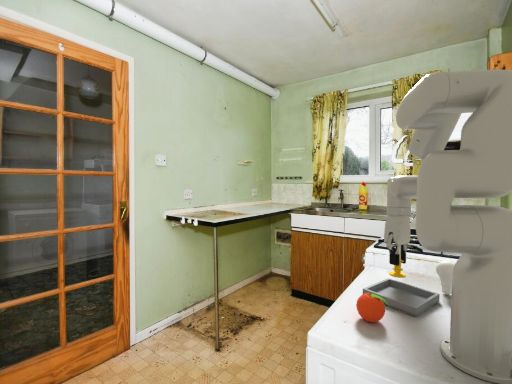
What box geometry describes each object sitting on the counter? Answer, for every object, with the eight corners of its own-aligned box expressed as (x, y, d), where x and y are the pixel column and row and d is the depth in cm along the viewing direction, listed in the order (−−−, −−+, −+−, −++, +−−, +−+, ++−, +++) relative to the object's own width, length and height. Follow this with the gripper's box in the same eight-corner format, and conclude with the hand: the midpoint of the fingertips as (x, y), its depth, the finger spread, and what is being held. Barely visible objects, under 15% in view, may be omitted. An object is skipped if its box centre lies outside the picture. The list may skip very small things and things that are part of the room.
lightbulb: (450, 291, 87) (451, 258, 87) (463, 299, 81) (464, 264, 81) (431, 290, 88) (432, 257, 87) (442, 298, 82) (443, 263, 81)
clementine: (390, 319, 69) (391, 293, 69) (387, 332, 63) (388, 303, 63) (358, 311, 73) (359, 286, 73) (353, 322, 67) (353, 295, 67)
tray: (439, 302, 79) (439, 294, 79) (415, 317, 70) (416, 308, 70) (388, 285, 92) (388, 278, 92) (362, 296, 83) (362, 288, 82)
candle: (405, 274, 94) (405, 231, 94) (406, 278, 89) (407, 233, 89) (388, 272, 96) (389, 229, 96) (389, 276, 91) (390, 232, 91)
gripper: (399, 210, 100) (398, 257, 100) (375, 212, 90) (374, 265, 91) (420, 211, 94) (419, 262, 94) (397, 214, 84) (396, 270, 85)
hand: (397, 263), depth 93 cm, fingers closed on candle, 3 cm apart
